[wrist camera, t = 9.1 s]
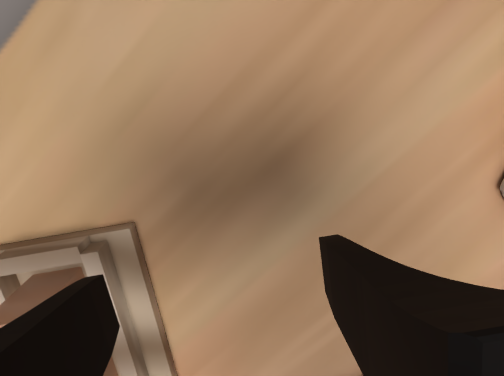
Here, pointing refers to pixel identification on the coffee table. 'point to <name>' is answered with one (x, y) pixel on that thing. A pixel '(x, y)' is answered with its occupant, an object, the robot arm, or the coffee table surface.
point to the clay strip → (42, 297)
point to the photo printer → (502, 187)
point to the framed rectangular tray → (118, 283)
